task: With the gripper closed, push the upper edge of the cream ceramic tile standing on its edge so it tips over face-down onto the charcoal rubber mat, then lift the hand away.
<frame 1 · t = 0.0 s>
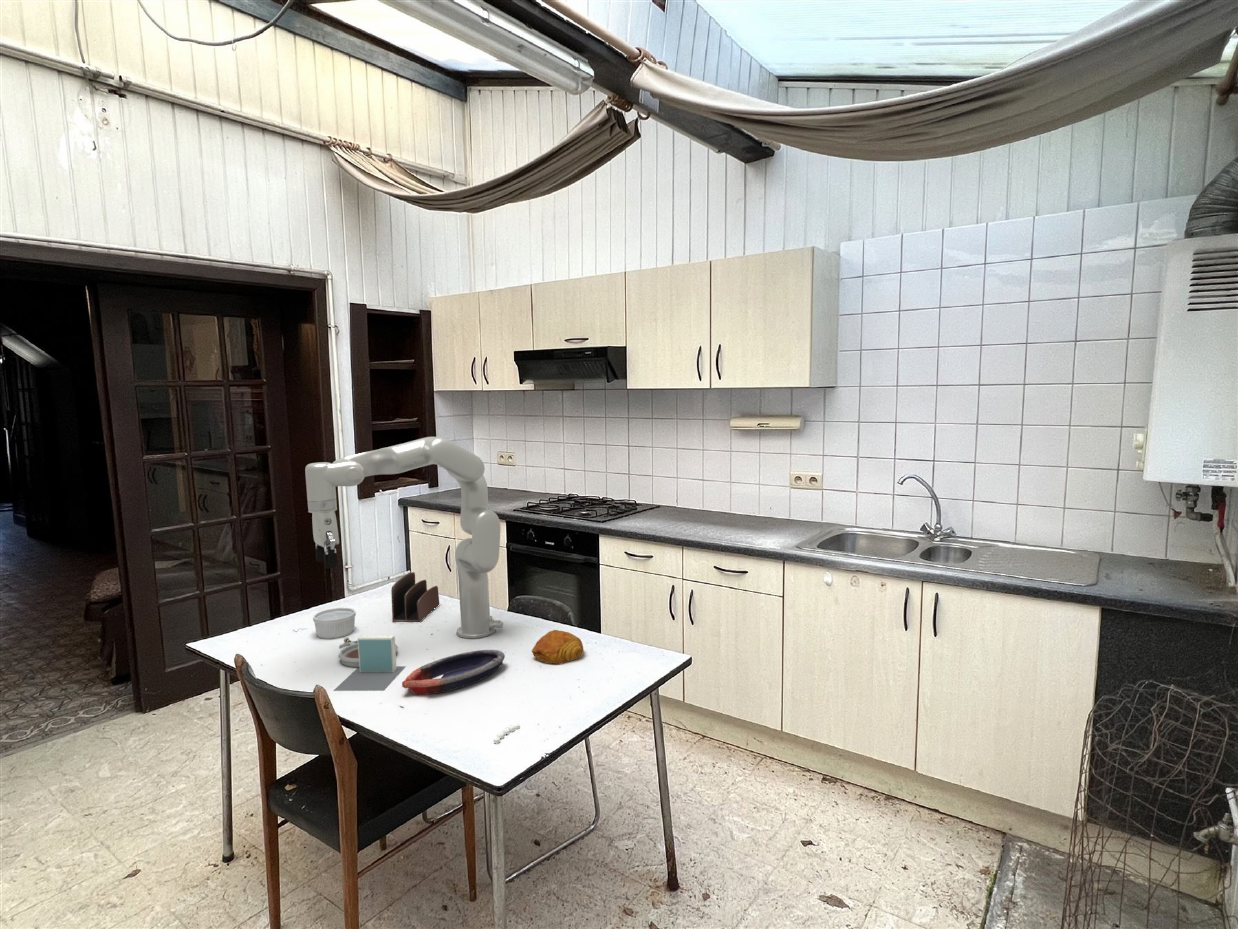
hand: (326, 564, 194), 31 cm above the table, tool pointing down, fingers open, 9 cm apart
dish: (455, 681, 188), on the table
letter holder: (417, 614, 246), on the table
oval picture frame: (362, 653, 208), on the table, touching mat
mat: (371, 679, 189), on the table
white bumpy strip: (505, 739, 156), on the table
croissant: (556, 656, 203), on the table
tile: (378, 670, 194), resting on mat
ramekin: (335, 634, 227), on the table
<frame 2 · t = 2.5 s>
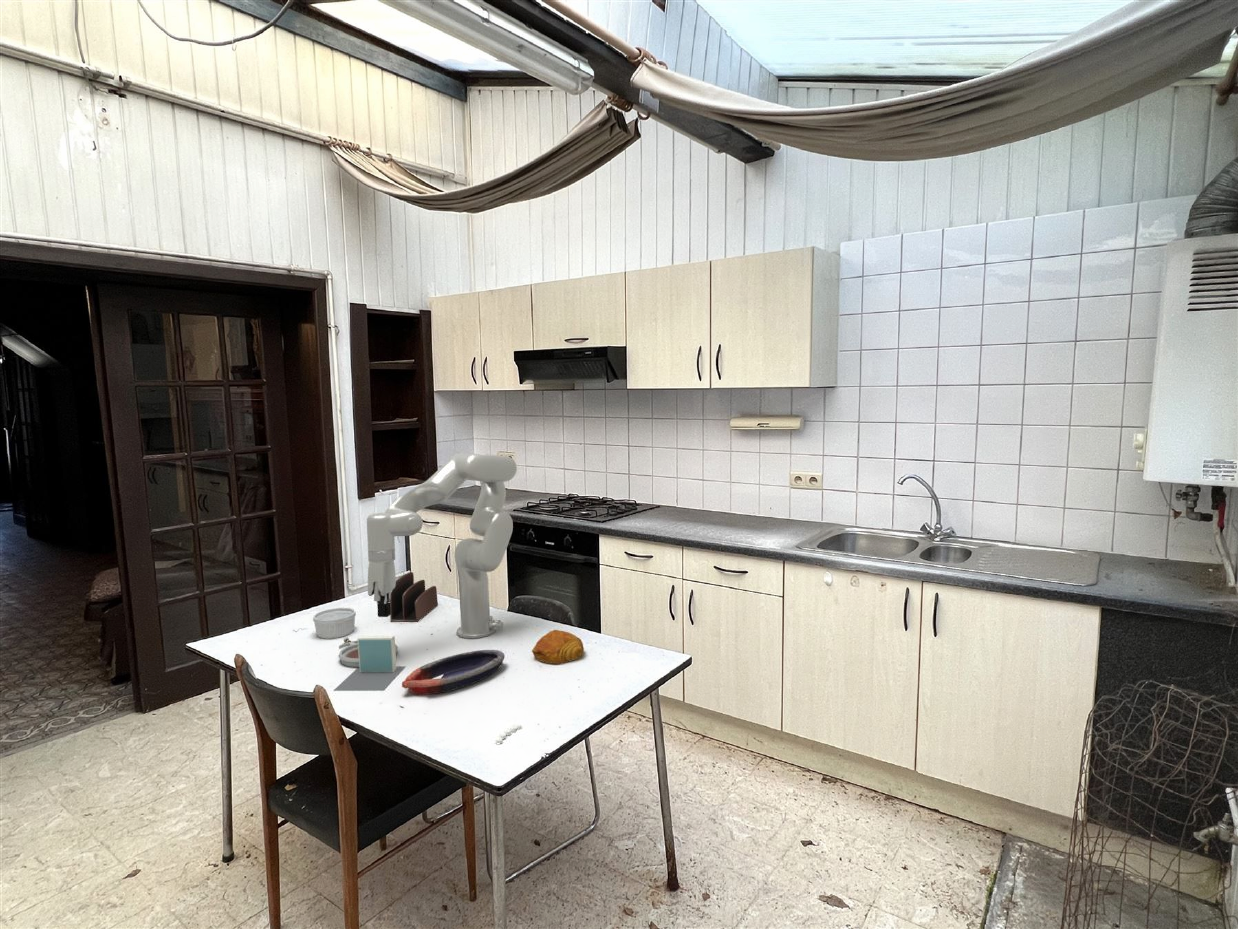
hand: (384, 616, 200), 14 cm above the table, tool pointing down, fingers closed
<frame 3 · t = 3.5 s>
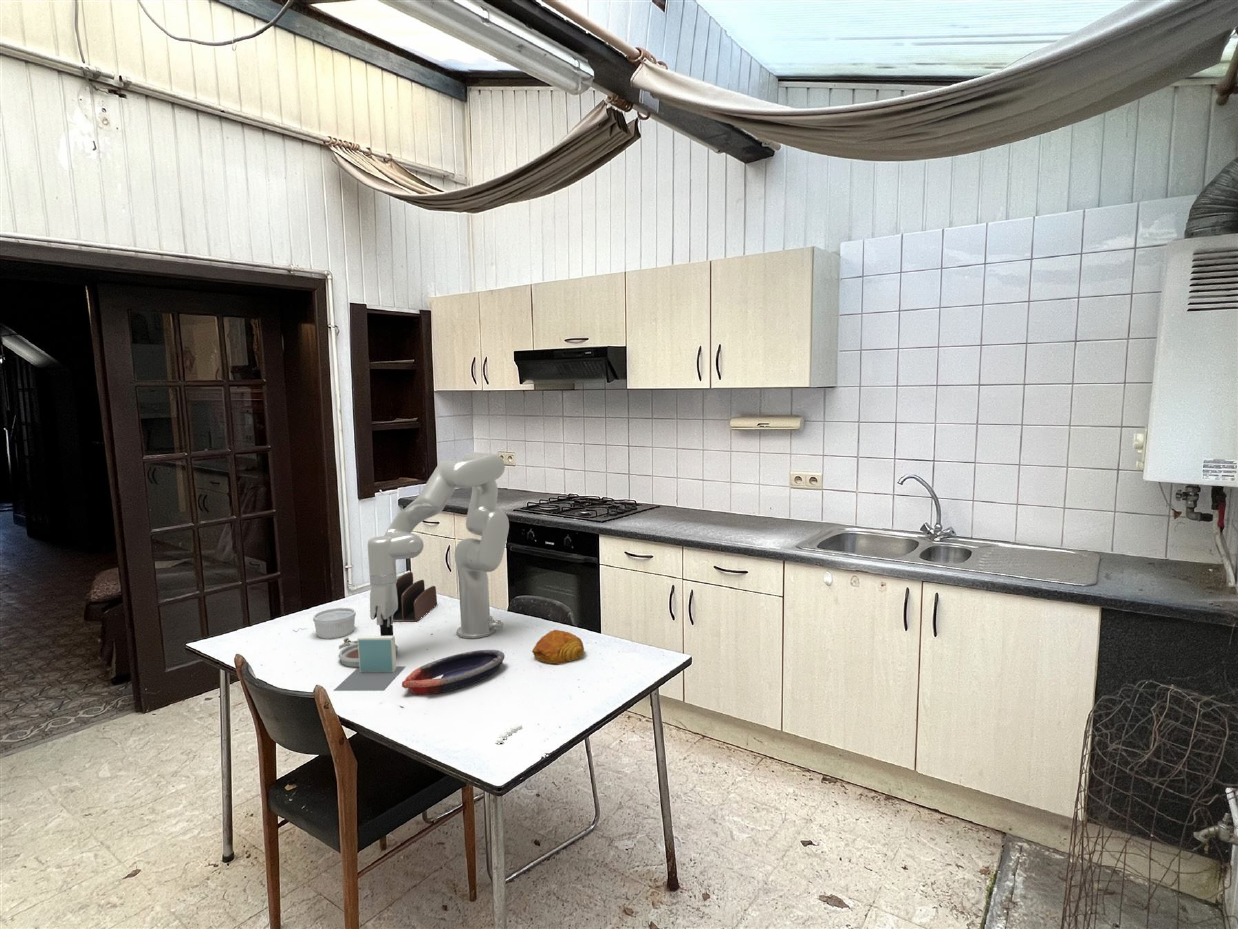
hand: (387, 638, 201), 7 cm above the table, tool pointing down, fingers closed
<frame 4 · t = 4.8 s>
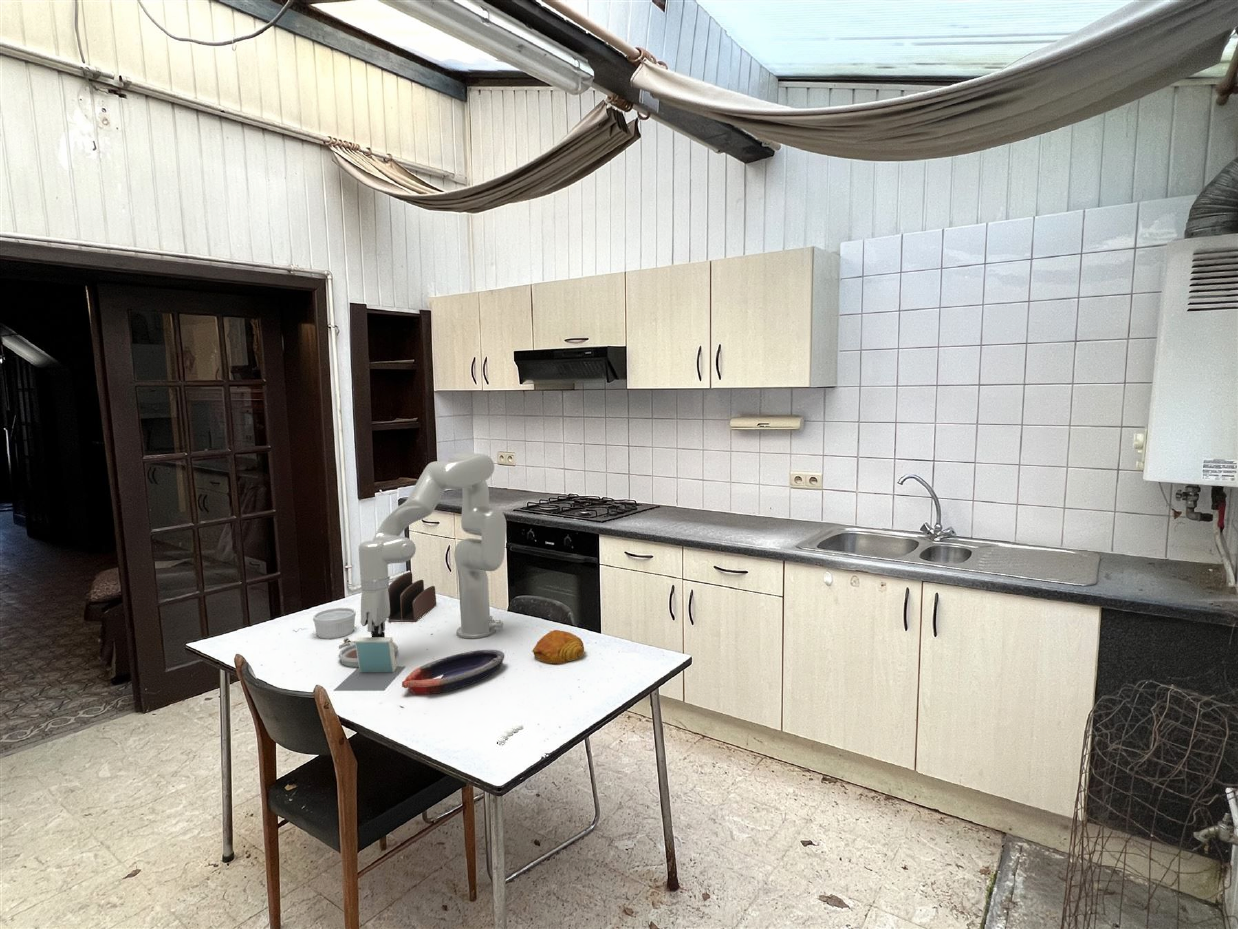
hand: (378, 645, 195), 7 cm above the table, tool pointing down, fingers closed
tile: (378, 670, 194), point 1 cm above the table, tilted 10°, touching mat
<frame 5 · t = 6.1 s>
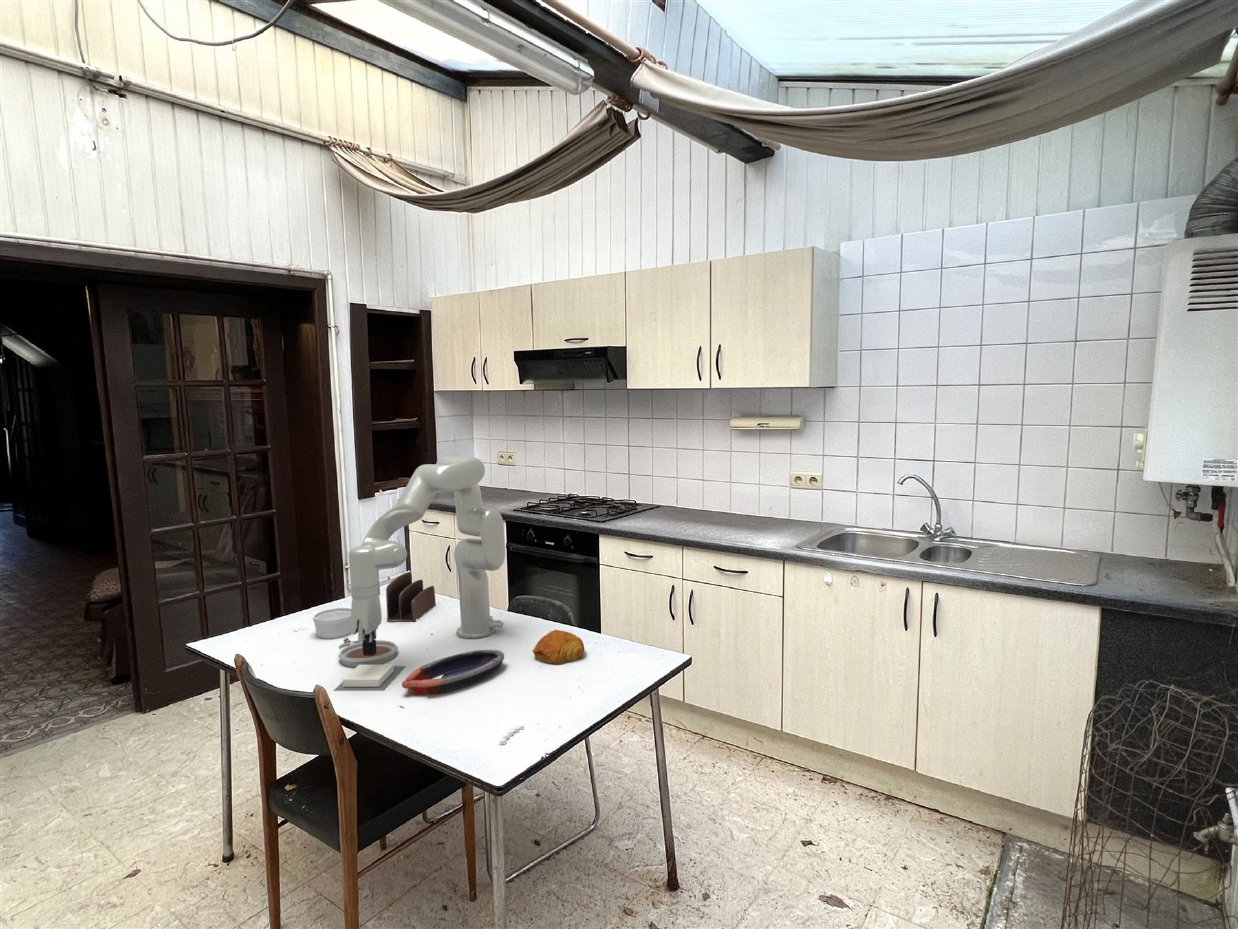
hand: (369, 654, 189), 7 cm above the table, tool pointing down, fingers closed
tile: (376, 668, 193), point 2 cm above the table, tilted 90°, touching mat
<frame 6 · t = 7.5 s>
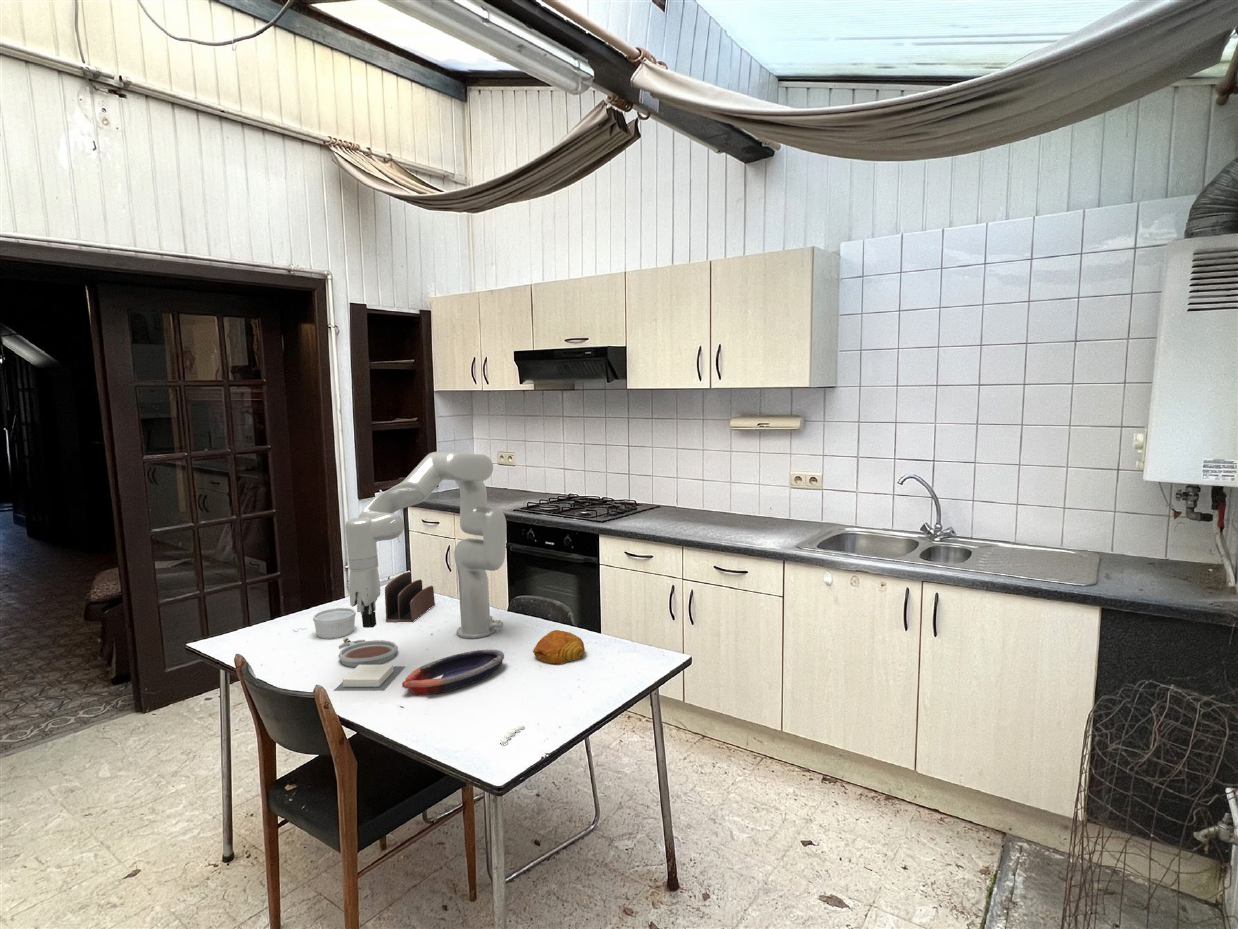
hand: (369, 626, 188), 15 cm above the table, tool pointing down, fingers closed
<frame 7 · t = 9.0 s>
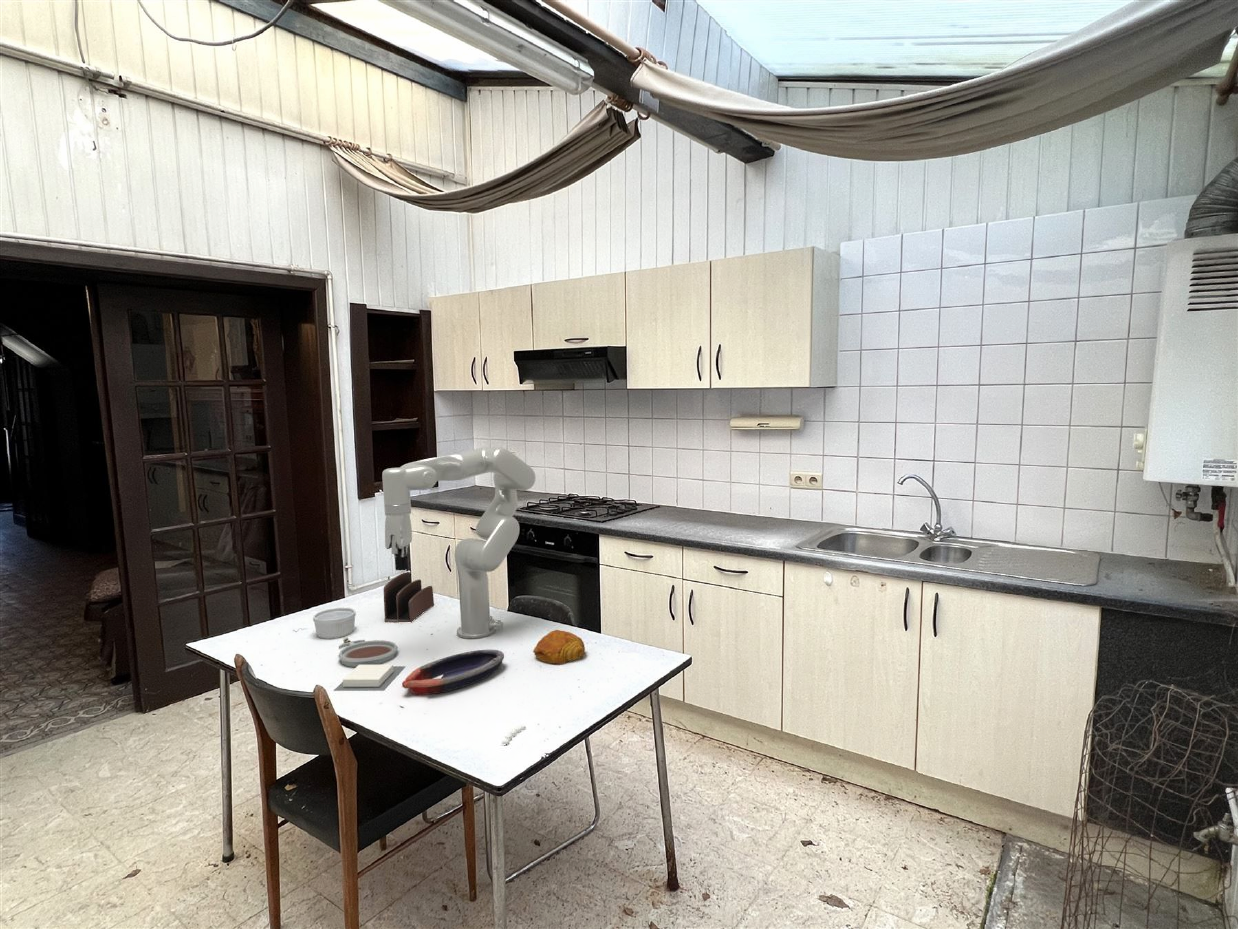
hand: (401, 569, 203), 27 cm above the table, tool pointing down, fingers closed
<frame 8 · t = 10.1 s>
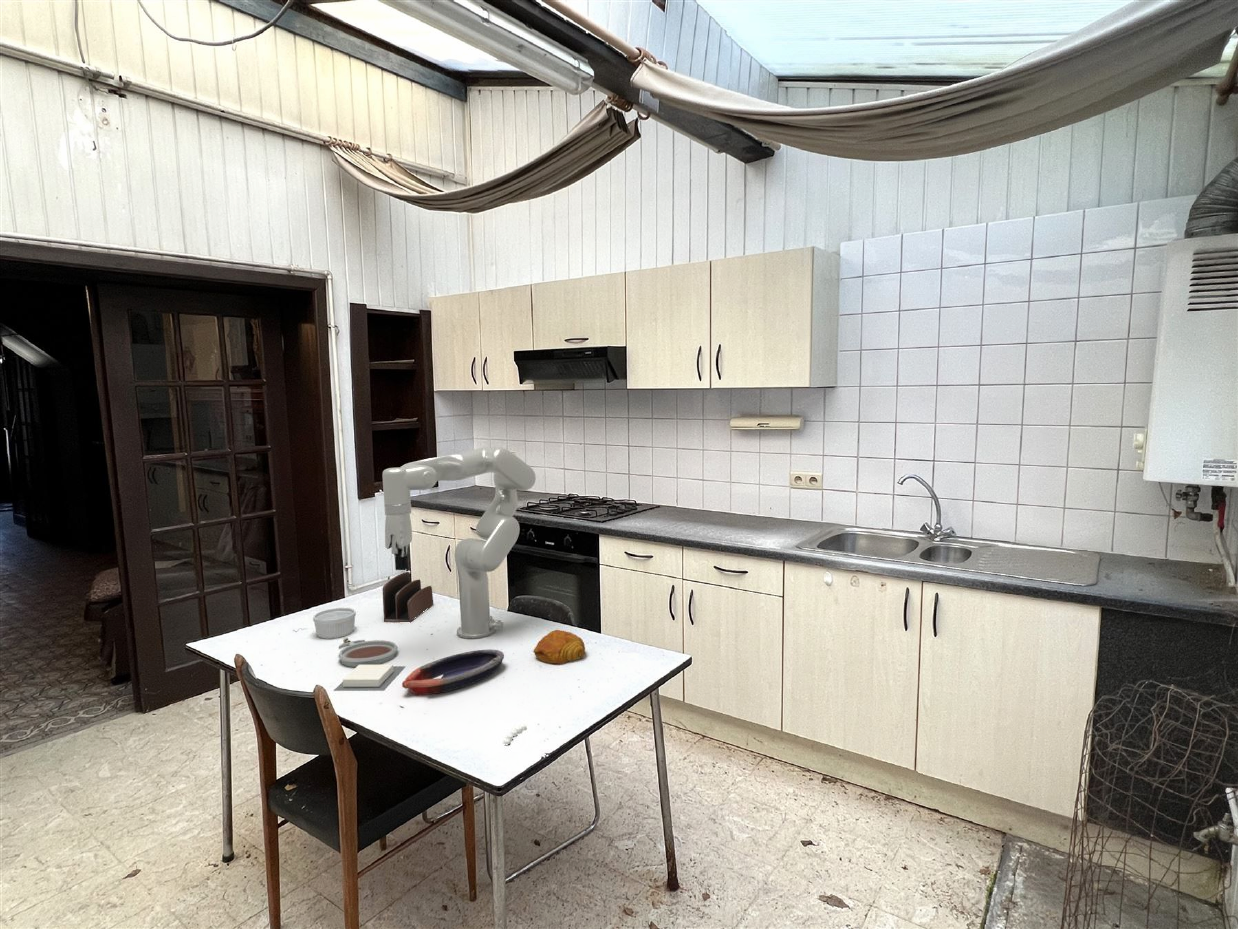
hand: (401, 569, 203), 27 cm above the table, tool pointing down, fingers closed
at the end: tile tilted 90°; tile inside the target area (1.8 cm from its centre), point 1.8 cm above the table; tile touching mat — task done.
